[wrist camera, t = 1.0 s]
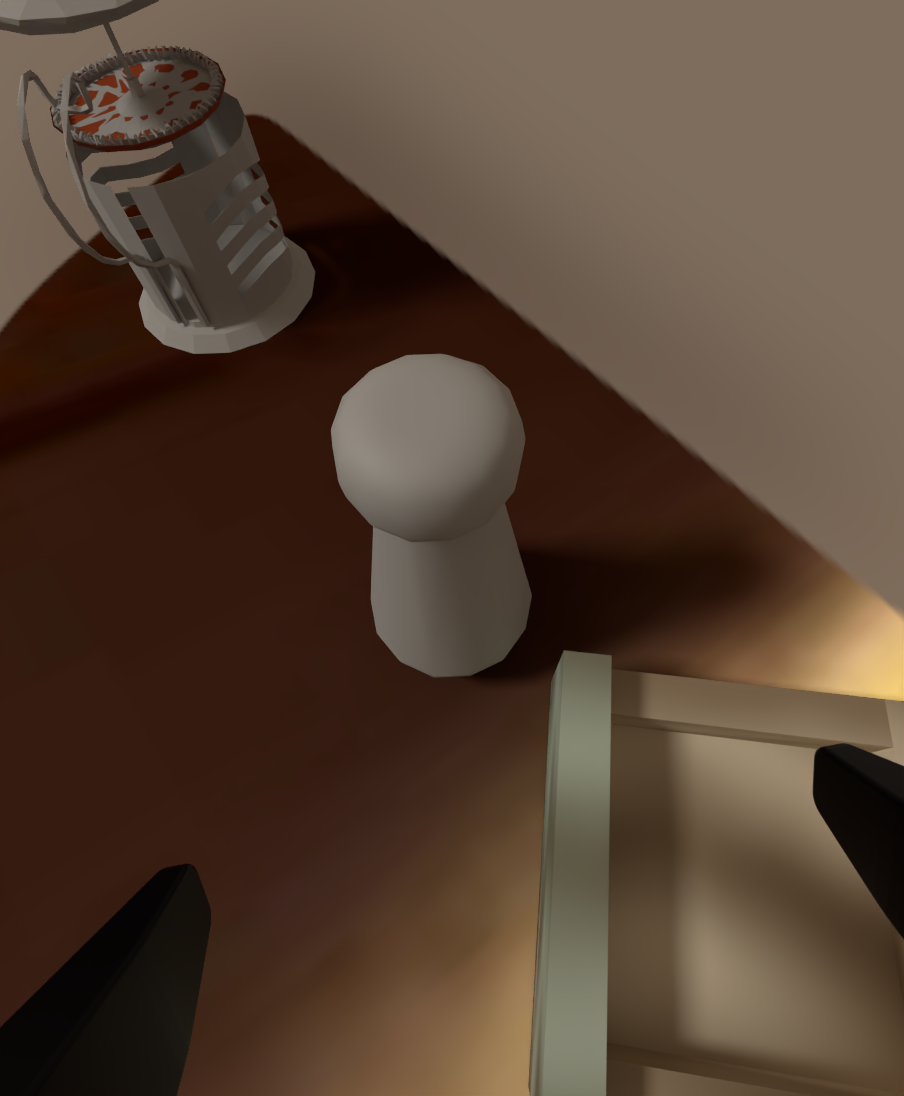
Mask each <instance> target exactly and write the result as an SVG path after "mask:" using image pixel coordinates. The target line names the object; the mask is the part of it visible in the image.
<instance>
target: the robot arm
mask: <svg viewBox="0 0 904 1096" xmlns="http://www.w3.org/2000/svg"><path fill="white" fill-rule="evenodd" d="M812 792H813V799H814V803H815V806H816V808H817V810H818V812H819V813H820V815H821V817H822V818H823V820H824V821H825V823H826V824H827V826H828V828H829V829H830V831H831V832H832V834H833V835H834V837H835V838H836V840H837V842H838V843H839V845H840V846H841V848H842V849H843V851H844V853H845V854H846V856H847V857H848V859H849V860H850V862H851V863H852V865H853V867H854V868H855V870H856V871H857V873H858V874H859V876H860V878H861V879H862V881H863V882H864V884H865V885H866V887H867V888H868V890H869V892H870V893H871V895H872V896H873V898H874V899H875V901H876V902H877V904H878V905H879V907H880V908H881V910H882V911H883V913H884V914H885V916H886V917H887V918H888V920H889V921H890V922H891V924H892V925H893V926H894V928H895V929H896V930H897V932H898V933H899V934H900V936H901V937H902V938H903V940H904V766H903V765H900V764H898V763H895V762H893V761H890V760H888V759H885V758H883V757H880V756H878V755H875V754H873V753H870V752H868V751H866V750H863V749H861V748H858V747H856V746H853V745H850V744H846V743H840V744H835V745H829V746H824V747H820V748H818V749H817V750H816V752H815V754H814V769H813V791H812ZM210 926H211V910H210V906H209V902H208V900H207V897H206V894H205V892H204V889H203V886H202V883H201V881H200V878H199V875H198V872H197V870H196V868H195V867H194V866H193V865H191V864H183V865H177V866H172V867H167V868H164V869H162V870H160V871H159V872H158V873H156V874H155V875H154V876H153V877H152V878H151V879H150V880H149V881H148V882H147V883H146V884H145V885H144V886H143V887H142V888H141V889H140V890H139V891H138V892H137V893H136V894H135V895H134V896H133V897H132V898H131V899H130V900H129V901H128V902H127V903H126V904H125V905H124V906H123V907H122V908H121V909H120V910H119V911H118V912H117V913H116V914H115V915H114V916H113V917H112V918H111V919H110V920H109V921H108V922H107V923H106V924H105V925H104V926H103V927H102V928H101V929H100V930H98V931H97V932H96V933H95V934H94V935H93V936H92V937H91V938H90V939H89V940H88V941H87V942H86V943H85V944H84V945H83V946H82V947H81V948H80V949H79V950H78V951H77V952H76V953H75V954H74V955H73V956H72V957H71V958H70V959H69V960H68V961H67V962H66V963H65V964H64V965H63V966H62V967H61V968H60V969H59V970H58V971H57V972H56V973H55V974H54V975H53V976H52V977H51V978H50V979H49V980H48V981H47V982H46V983H45V984H44V985H43V986H42V987H41V988H40V989H39V990H38V991H37V992H36V993H35V994H34V995H33V996H32V997H30V998H29V999H28V1000H27V1001H26V1002H25V1003H24V1004H23V1005H22V1006H21V1007H20V1008H19V1009H18V1010H17V1011H16V1012H15V1013H14V1014H13V1015H12V1016H11V1017H10V1018H9V1019H8V1020H7V1021H6V1022H5V1023H4V1024H3V1025H2V1026H1V1027H0V1096H177V1093H178V1090H179V1086H180V1082H181V1079H182V1075H183V1071H184V1067H185V1063H186V1059H187V1055H188V1051H189V1046H190V1041H191V1036H192V1030H193V1025H194V1019H195V1013H196V1008H197V1002H198V996H199V990H200V984H201V979H202V973H203V967H204V961H205V955H206V949H207V944H208V938H209V932H210Z"/></svg>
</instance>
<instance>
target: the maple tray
mask: <svg viewBox="0 0 904 1096" xmlns="http://www.w3.org/2000/svg"><path fill="white" fill-rule="evenodd" d="M611 662H612V656H611V655H602V654H592V653H583V652H574V651H565V650H564V651H563V654H562V656H561V659H560V661H559V664H558V666H557V668H556V671H555V673H554V676H553V678H552V681H551V696H550V714H549V732H548V749H547V767H546V785H545V802H544V820H543V838H542V856H541V873H540V891H539V909H538V926H537V944H536V962H535V979H534V997H533V1015H532V1032H531V1050H530V1068H529V1092H530V1096H904V940H903V938H902V937H901V936H900V934H899V933H898V932H897V930H896V929H895V928H894V926H893V925H892V924H891V922H890V921H889V920H888V918H887V917H886V916H885V914H884V913H883V911H882V910H881V908H880V907H879V905H878V904H877V902H876V901H875V899H874V898H873V896H872V895H871V893H870V892H869V890H868V888H867V887H866V885H865V884H864V882H863V881H862V879H861V878H860V876H859V874H858V873H857V871H856V870H855V868H854V867H853V865H852V863H851V862H850V860H849V859H848V857H847V856H846V854H845V853H844V851H843V849H842V848H841V846H840V845H839V843H838V842H837V840H836V838H835V837H834V835H833V834H832V832H831V831H830V829H829V828H828V826H827V824H826V823H825V821H824V820H823V818H822V817H821V815H820V813H819V812H818V810H817V808H816V806H815V803H814V799H813V792H812V791H813V769H814V754H815V752H816V750H817V749H818V748H820V747H824V746H829V745H835V744H840V743H846V744H850V745H853V746H856V747H858V748H861V749H863V750H866V751H868V752H870V753H873V754H875V755H878V756H880V757H883V758H885V759H888V760H890V761H893V762H895V763H898V764H900V765H903V766H904V702H903V701H894V700H885V699H876V698H867V697H858V696H849V695H840V694H831V693H822V692H813V691H804V690H795V689H786V688H777V687H768V686H759V685H750V684H742V683H733V682H724V681H715V680H706V679H697V678H688V677H679V676H670V675H661V674H652V673H643V672H634V671H625V670H616V669H611Z"/></svg>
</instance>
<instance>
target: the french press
mask: <svg viewBox="0 0 904 1096" xmlns="http://www.w3.org/2000/svg"><path fill="white" fill-rule="evenodd" d="M157 1H159V0H0V29H1V30H6V31H11V32H16V33H21V34H27V35H45V34H62V33H63V34H64V33H75V32H79V31H82V30H85V29H89V28H92V27H95V26H98V25H102V24H103V25H104V27H105V29H106V32H107V34H108V36H109V38H110V40H111V42H112V45H113V47H114V49H115V51H116V53H117V54H116V56H115V57H113V56H112V55H111V54H110V53H109V54H108V57H109V58H108V59H105V58H101V61H102V62H98V61H96V62H95V63H94V65H92V64H91V63H89V65H88V66H87V68H86V67H85V66H84V67H82V68H81V69H80V71H78V70H77V71H76V72H75V73H74V72H72V73H70V74H68V75H67V76H65V77H64V80H63V83H62V84H61V85H60V89H59V90H58V91H57V92H58V94H56V97H55V98H53V97H52V96H51V95H50V94H49V92H48V91H47V89H46V88H45V86H44V85H43V83H42V82H41V81H40V79H39V77H38V76H37V75H36V74H35V73H34V72H32V71H31V70H29V71H27V72H26V73H24V74H23V75H21V79H20V86H19V93H18V101H17V112H18V119H19V125H20V131H21V137H22V142H23V145H24V148H25V151H26V154H27V156H28V160H29V162H30V165H31V168H32V171H33V174H34V177H35V179H36V182H37V185H38V187H39V189H40V192H41V194H42V196H43V199H44V200H45V201H46V203H47V204H48V206H49V207H50V209H51V210H52V212H53V213H54V215H55V216H56V217H57V219H58V220H59V222H60V223H61V225H62V226H63V227H64V229H65V231H66V232H67V233H68V235H69V236H70V237H71V238H72V239H73V240H74V241H75V242H76V243H77V244H78V245H79V246H80V247H81V248H82V249H83V250H84V251H85V252H87V253H88V254H90V255H91V256H93V257H94V258H96V259H98V260H99V261H101V262H102V263H106V264H112V265H122V264H125V263H128V262H129V264H130V266H131V267H132V269H133V271H134V272H135V274H136V276H137V277H138V279H139V280H140V282H141V284H142V285H143V287H144V289H143V292H142V295H141V298H140V302H139V306H140V310H141V314H142V318H143V322H144V326H145V327H146V328H147V329H148V330H149V331H150V332H151V333H152V334H153V335H154V336H155V337H156V338H157V339H159V340H160V341H161V342H162V343H163V344H164V345H167V346H170V347H174V348H177V349H180V350H184V351H187V352H190V353H193V354H202V353H229V352H233V351H236V350H239V349H242V348H246V347H249V346H252V345H255V344H258V343H261V342H264V341H266V340H268V339H269V338H271V337H272V336H274V335H275V334H276V333H278V332H279V331H281V330H282V329H284V328H285V327H286V326H288V325H289V324H291V323H292V322H294V321H295V320H296V318H297V317H298V315H299V314H300V313H301V311H302V310H303V308H304V307H305V305H306V304H307V303H308V301H309V300H310V298H311V297H312V292H313V284H314V277H315V270H314V268H313V266H312V264H311V262H310V260H309V257H308V255H307V253H306V251H305V250H303V249H302V248H301V247H299V246H298V245H296V244H295V243H294V242H292V241H291V240H289V239H288V238H287V237H285V236H284V233H283V230H282V226H281V223H280V222H279V220H278V218H277V216H276V213H277V211H276V208H275V205H274V203H273V200H272V198H271V196H270V194H269V193H268V191H267V189H268V188H269V186H268V184H267V181H266V178H265V175H264V173H263V171H262V170H261V168H260V166H259V165H258V164H257V163H256V162H258V161H259V160H260V159H259V156H258V153H257V150H256V147H255V144H254V141H253V138H252V135H251V132H250V129H249V127H248V124H247V121H246V118H245V115H244V113H243V111H242V108H241V106H240V104H239V102H238V100H237V99H236V98H234V97H232V96H231V95H229V94H227V93H226V92H224V87H225V81H226V79H225V77H224V75H223V73H222V71H221V69H220V67H219V64H218V63H216V62H215V61H213V60H211V59H210V58H208V57H207V56H205V55H203V54H202V53H199V52H198V51H192V50H191V49H189V50H186V49H185V48H184V47H183V48H182V49H180V47H178V46H176V48H173V47H172V46H170V47H169V48H165V46H162V48H160V49H159V48H158V49H157V46H155V48H154V49H150V48H149V47H147V49H142V48H141V47H140V50H138V51H135V50H133V49H132V52H130V53H128V52H127V51H124V54H123V53H122V51H121V49H120V47H119V45H118V42H117V40H116V38H115V36H114V34H113V31H112V29H111V27H110V25H109V22H112V21H115V20H119V19H121V18H123V17H125V16H128V15H130V14H132V13H134V12H136V11H138V10H140V9H142V8H144V7H147V6H149V5H151V4H153V3H155V2H157ZM103 60H104V61H103ZM30 80H34V82H35V84H36V85H37V87H38V88H39V90H40V92H41V94H42V95H43V97H44V98H45V99H46V100H47V101H48V102H49V103H50V104H51V105H52V106H51V108H50V111H51V116H52V121H53V126H54V127H55V128H56V129H58V130H59V131H60V132H61V133H63V134H64V139H65V145H66V150H67V152H66V157H67V159H68V162H69V166H70V168H71V171H72V173H73V176H74V179H75V181H76V184H77V186H78V189H79V191H80V194H81V196H82V199H83V202H84V203H85V205H86V207H87V208H88V210H89V212H90V213H91V215H92V217H93V218H94V220H95V221H96V223H97V224H98V226H99V228H100V230H101V231H102V233H103V234H104V236H105V238H106V239H107V240H108V241H109V242H110V243H111V244H112V245H113V246H114V247H115V248H116V249H117V250H118V251H119V252H120V253H121V254H122V255H124V256H125V257H123V258H120V259H117V260H116V259H111V258H107V257H102V256H101V255H100V254H98V253H97V252H96V251H95V250H94V249H92V248H91V247H90V246H89V245H88V244H86V243H85V242H84V241H83V240H81V239H80V237H79V236H78V235H77V233H76V232H75V231H74V229H73V228H72V226H71V225H70V224H69V222H68V221H67V220H66V218H65V217H64V216H63V214H62V213H61V211H60V210H59V209H58V207H57V206H56V205H55V203H54V202H53V201H52V199H51V197H50V194H49V193H48V190H47V188H46V185H45V183H44V181H43V179H42V176H41V174H40V172H39V168H38V165H37V162H36V159H35V156H34V153H33V150H32V146H31V143H30V139H29V133H28V126H27V120H26V113H25V101H26V95H27V88H28V82H29V81H30ZM170 141H171V142H172V144H173V146H174V148H172V149H170V150H168V151H167V152H165V153H163V154H161V155H160V156H158V157H156V158H153V159H149V160H144V161H139V162H135V163H131V164H125V165H116V166H107V167H99V168H98V169H97V170H96V171H95V172H94V173H93V174H92V175H91V176H90V177H89V181H88V180H86V179H85V178H84V177H83V173H82V165H81V163H82V162H83V161H84V160H85V159H86V158H87V157H88V156H89V155H90V154H91V153H98V152H116V151H131V150H142V149H148V148H154V147H157V146H160V145H162V144H165V143H168V142H170ZM179 162H181V165H182V167H183V169H184V171H185V173H184V174H182V175H180V176H179V177H177V178H175V179H173V180H171V181H167V182H164V183H160V184H157V185H153V186H143V187H133V188H132V187H131V188H128V190H129V192H122V193H115V194H114V193H113V191H112V189H111V188H110V186H106V185H105V184H106V183H107V182H109V181H116V180H123V179H132V178H140V177H144V176H147V175H151V174H155V173H158V172H162V171H164V170H166V169H168V168H170V167H171V166H173V165H175V164H177V163H179ZM250 168H251V169H252V170H254V171H255V172H256V173H257V174H258V175H259V176H260V178H259V179H257V180H255V179H254V178H253V175H252V172H251V169H250ZM260 195H262V196H263V197H265V198H266V199H267V200H268V201H269V202H270V204H268V205H267V206H266V205H264V204H263V203H262V201H261V198H260ZM135 204H136V205H137V207H138V209H139V210H140V212H141V214H142V215H141V216H135V217H130V218H128V217H127V215H126V214H125V212H124V210H123V208H122V207H124V206H129V205H135ZM271 219H272V220H273V221H274V222H275V223H276V224H277V225H278V227H277V228H276V229H274V228H273V227H272V226H271V225H270V224H269V221H270V220H271ZM147 227H149V229H150V231H151V233H152V234H153V236H154V237H153V238H149V239H144V240H140V238H139V236H138V235H137V233H136V231H135V230H139V229H143V228H147Z"/></svg>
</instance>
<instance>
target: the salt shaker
mask: <svg viewBox="0 0 904 1096" xmlns="http://www.w3.org/2000/svg"><path fill="white" fill-rule="evenodd" d="M331 435H332V446H333V452H334V458H335V464H336V470H337V476H338V482H339V484H340V486H341V488H342V490H343V492H344V494H345V496H346V498H347V499H348V500H349V501H350V502H351V503H352V504H353V505H354V506H355V508H356V509H357V510H358V511H359V512H360V513H361V514H362V515H363V516H364V518H365V519H366V520H367V521H368V522H369V523H370V524H371V525H372V526H373V551H372V579H371V604H372V609H373V614H374V620H375V625H376V630H377V634H378V635H379V636H380V638H381V639H382V640H383V641H384V642H385V644H386V645H387V646H388V647H389V649H390V650H391V651H392V652H393V653H394V655H395V656H396V657H397V658H398V660H399V661H401V662H402V663H404V664H406V665H408V666H410V667H413V668H415V669H417V670H419V671H421V672H423V673H425V674H428V675H430V676H432V677H434V678H438V677H461V676H471V675H473V674H475V673H477V672H480V671H482V670H484V669H486V668H488V667H490V666H492V665H494V664H496V663H498V662H500V661H502V660H503V659H504V658H505V657H506V655H507V654H508V653H509V651H510V650H511V648H512V647H513V646H514V644H515V643H516V641H517V640H518V639H519V637H520V636H521V634H522V633H523V632H524V630H525V629H526V624H527V618H528V613H529V608H530V603H531V598H532V594H531V590H530V587H529V584H528V580H527V577H526V574H525V570H524V567H523V563H522V560H521V557H520V553H519V550H518V547H517V543H516V540H515V537H514V533H513V530H512V526H511V523H510V520H509V516H508V513H507V510H506V506H505V502H506V500H507V499H508V498H509V497H510V496H511V494H512V493H513V492H514V491H515V486H516V482H517V477H518V472H519V467H520V463H521V458H522V453H523V448H524V444H525V435H524V430H523V425H522V421H521V418H520V415H519V413H518V410H517V408H516V405H515V403H514V400H513V397H512V395H511V392H510V390H509V389H508V388H507V387H506V386H505V385H504V384H503V383H502V382H500V381H499V380H498V379H497V378H496V377H495V376H494V375H493V374H491V373H490V372H489V371H488V370H487V369H486V368H485V367H484V366H482V365H479V364H475V363H472V362H469V361H465V360H462V359H459V358H456V357H452V356H449V355H445V354H426V355H406V356H404V357H401V358H399V359H397V360H394V361H392V362H389V363H387V364H385V365H382V366H380V367H377V368H375V369H373V370H371V371H370V372H369V373H367V374H366V375H365V376H364V377H363V378H362V379H361V380H360V381H359V382H358V383H357V384H356V385H355V386H354V387H352V388H351V389H350V390H349V391H348V392H347V393H346V394H345V395H344V396H343V397H342V400H341V403H340V406H339V408H338V411H337V414H336V417H335V420H334V422H333V425H332V428H331Z"/></svg>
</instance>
